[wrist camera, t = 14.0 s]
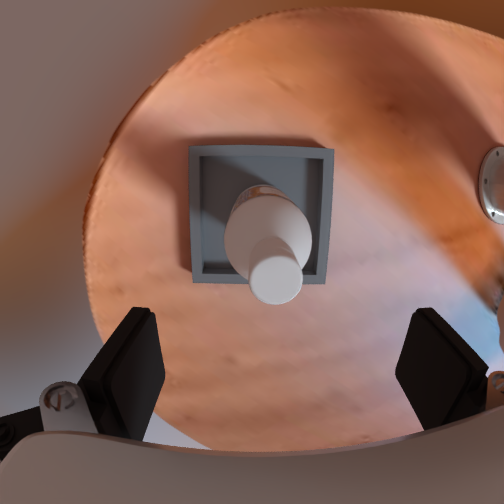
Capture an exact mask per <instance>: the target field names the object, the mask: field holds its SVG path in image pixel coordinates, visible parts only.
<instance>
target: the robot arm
mask: <svg viewBox="0 0 504 504" xmlns="http://www.w3.org/2000/svg"><path fill="white" fill-rule="evenodd" d="M479 195H480V200H481V204H482V207H483V210H484V212H485V213H486V215H487V216H488V218H489V219H490V220H492V221H493V222H495V223H498V224H502V225H503V224H504V147H495V148H493V149H491V150H490V151H489V152H488V153H487V155H486V156H485V158H484V160H483V163H482V165H481V169H480V174H479ZM488 368H489V367H488V365H487V364H486V363H485V362H484V361H483V360H482V359H481V358H480V357H479V355H478V354H477V353H476V352H475V351H474V350H473V349H472V348H471V347H470V346H469V345H468V344H467V343H466V342H465V340H464V339H463V338H462V337H461V336H460V335H459V334H458V333H457V332H456V331H455V330H454V329H453V328H452V327H451V326H450V325H449V324H448V323H447V322H446V321H445V320H444V319H443V318H442V317H441V316H440V315H439V314H438V313H437V312H436V311H435V310H434V309H433V308H431V307H429V308H418V309H417V310H416V312H414V313H413V314H412V317H411V321H410V324H409V328H408V331H407V335H406V338H405V341H404V345H403V348H402V351H401V354H400V357H399V360H398V363H397V366H396V369H395V375H396V378H397V380H398V382H399V383H400V385H401V387H402V389H403V391H404V393H405V394H406V396H407V398H408V400H409V402H410V404H411V406H412V408H413V409H414V411H415V413H416V415H417V417H418V419H419V421H420V423H421V425H422V427H423V429H424V431H421V432H418V433H414V434H409V435H405V436H401V437H396V438H392V439H387V440H382V441H376V442H371V443H365V444H358V445H352V446H344V447H336V448H327V449H317V450H303V451H282V452H239V451H219V450H205V449H195V448H186V447H177V446H169V445H162V444H155V443H149V442H143V441H142V440H143V437H144V435H145V432H146V429H147V426H148V424H149V420H150V418H151V415H152V413H153V410H154V407H155V404H156V402H157V399H158V396H159V394H160V391H161V388H162V386H163V383H164V380H165V368H164V363H163V358H162V353H161V347H160V342H159V336H158V330H157V323H156V317H155V314H154V312H150V309H149V308H142V307H133V308H131V310H130V311H129V312H128V314H127V315H126V316H125V318H124V319H123V320H122V322H121V323H120V324H119V326H118V327H117V328H116V330H115V331H114V332H113V334H112V335H111V336H110V338H109V339H108V340H107V342H106V343H105V344H104V346H103V347H102V349H101V350H100V351H99V353H98V354H97V355H96V357H95V358H94V360H93V361H92V362H91V364H90V365H89V367H88V368H87V370H86V371H85V372H84V374H83V375H82V377H81V379H80V380H79V381H78V383H77V384H75V383H72V382H67V381H62V382H56V383H54V384H51V385H50V386H48V387H47V388H45V389H44V390H43V392H42V393H41V395H40V398H39V404H40V406H37V407H34V408H31V409H28V410H24V411H21V412H17V413H14V414H10V415H7V416H3V417H0V504H504V371H495V372H492V373H491V374H490V375H489V376H488V378H487V377H486V375H485V374H486V372H487V370H488Z"/></svg>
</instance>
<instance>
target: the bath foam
mask: <svg viewBox="0 0 504 504" xmlns="http://www.w3.org/2000/svg"><path fill="white" fill-rule="evenodd" d="M224 246H225V251H226V254H227V257H228V259H229V261H230V263H231V265H232V266H233V268H234V269H235V270H236V271H237V272H238V273H239V274H240V275H241V276H242V277H244V278H245V279H247V280H248V282H249V287H250V289H251V291H252V293H253V294H254V296H255V297H256V298H258V299H259V300H260V301H262V302H264V303H267V304H273V305H277V304H283V303H286V302H288V301H290V300H291V299H293V298H294V297H295V296H296V295H297V294H298V292H299V291H300V289H301V286H302V282H303V274H302V268H303V267H304V266H305V264H306V262H307V260H308V258H309V255H310V252H311V246H312V235H311V230H310V226H309V223H308V220H307V218H306V217H305V215H304V213H303V212H302V211H301V210H300V209H299V208H298V207H297V206H296V205H295V204H294V202H293V201H292V200H291V199H290V198H289V197H288V196H287V195H286V194H284V193H283V192H282V191H281V190H279V189H278V188H276V187H273V186H270V185H255V186H252V187H250V188H248V189H246V190H245V191H244V192H242V193H241V194H240V196H239V197H238V198H237V200H236V202H235V204H234V206H233V209H232V211H231V214H230V216H229V219H228V222H227V224H226V227H225V231H224Z"/></svg>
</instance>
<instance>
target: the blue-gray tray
mask: <svg viewBox="0 0 504 504" xmlns="http://www.w3.org/2000/svg"><path fill="white" fill-rule="evenodd" d="M333 174H334V149H327V148H313V147H297V146H273V145H204V146H189V214H190V241H191V261H192V278H193V283H223V284H249V282H248V280H247V279H245V278H244V277H242V276H241V275H240V274H239V273H238V272H237V271H236V270H235V269H234V268H233V266H232V265H231V263H230V261H229V259H228V257H227V254H226V251H225V246H224V231H225V227H226V224H227V222H228V219H229V216H230V214H231V211H232V209H233V206H234V204H235V202H236V200H237V198H238V197H239V196H240V194H241V193H242V192H244V191H245V190H246V189H248V188H250V187H252V186H255V185H270V186H273V187H276V188H278V189H279V190H281V191H282V192H283V193H284V194H286V195H287V196H288V197H289V198H290V199H291V200H292V201H293V202H294V204H295V205H296V206H297V207H298V208H299V209H300V210H301V211H302V212H303V213H304V215H305V217H306V218H307V220H308V223H309V226H310V230H311V235H312V246H311V252H310V255H309V258H308V260H307V262H306V264H305V266H304V267H303V268H302V274H303V282H302V284H325V280H326V271H327V261H328V250H329V239H330V226H331V212H332V195H333Z"/></svg>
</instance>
